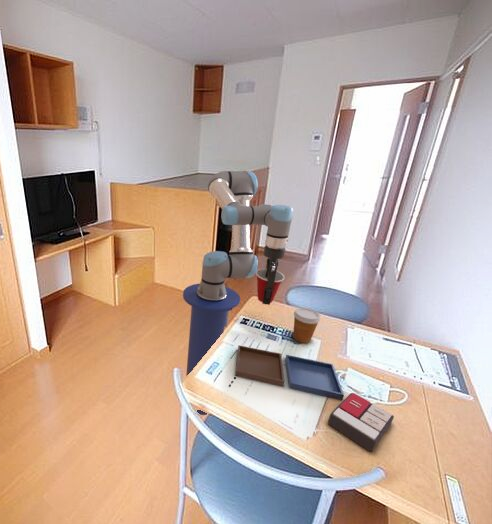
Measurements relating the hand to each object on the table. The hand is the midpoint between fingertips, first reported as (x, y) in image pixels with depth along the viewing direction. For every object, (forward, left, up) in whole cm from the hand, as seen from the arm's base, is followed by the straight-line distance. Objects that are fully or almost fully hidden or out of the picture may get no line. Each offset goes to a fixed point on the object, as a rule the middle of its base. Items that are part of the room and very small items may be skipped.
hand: (265, 298), depth 125 cm
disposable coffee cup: (0, +16, -16) cm, 22 cm away
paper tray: (+24, -1, -15) cm, 29 cm away
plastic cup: (0, 0, -1) cm, 1 cm away
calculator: (+40, +26, -16) cm, 50 cm away
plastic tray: (+24, +16, -15) cm, 33 cm away
